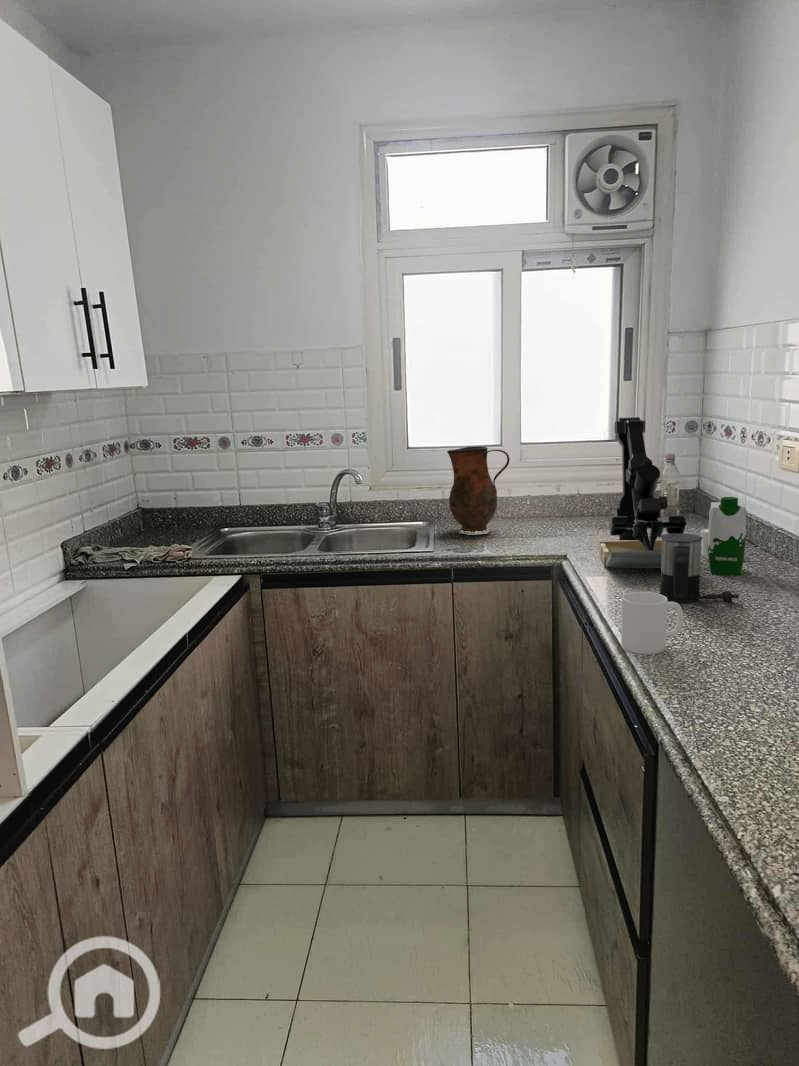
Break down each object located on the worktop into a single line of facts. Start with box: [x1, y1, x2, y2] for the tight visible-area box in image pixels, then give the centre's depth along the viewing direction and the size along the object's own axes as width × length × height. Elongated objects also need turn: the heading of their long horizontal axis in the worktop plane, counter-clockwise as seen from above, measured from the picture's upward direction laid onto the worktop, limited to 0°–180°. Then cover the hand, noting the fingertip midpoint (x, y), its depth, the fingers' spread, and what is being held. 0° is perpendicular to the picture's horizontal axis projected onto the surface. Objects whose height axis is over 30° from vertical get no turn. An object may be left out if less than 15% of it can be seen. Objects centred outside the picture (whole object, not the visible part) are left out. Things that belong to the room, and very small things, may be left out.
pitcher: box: [446, 445, 511, 532], centre depth 246 cm, size 17×21×30 cm
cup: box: [620, 591, 684, 656], centre depth 138 cm, size 8×12×10 cm
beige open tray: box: [599, 539, 662, 569], centre depth 200 cm, size 12×21×5 cm, turn 81°
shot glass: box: [700, 528, 708, 557], centre depth 204 cm, size 7×7×7 cm
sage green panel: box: [606, 550, 662, 567], centre depth 188 cm, size 2×20×13 cm
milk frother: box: [659, 532, 740, 604], centre depth 164 cm, size 14×16×15 cm
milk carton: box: [707, 496, 747, 576], centre depth 185 cm, size 9×9×20 cm
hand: (650, 552), depth 184 cm, fingers closed
